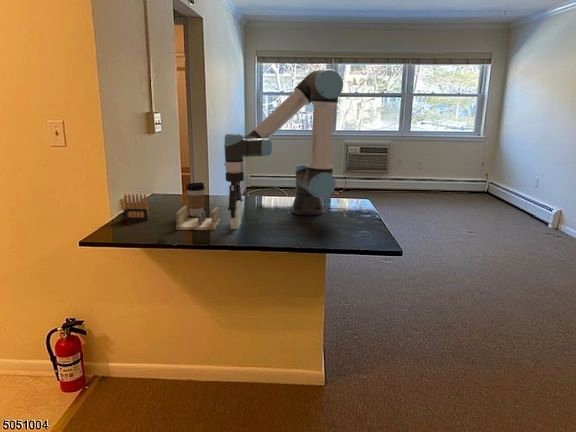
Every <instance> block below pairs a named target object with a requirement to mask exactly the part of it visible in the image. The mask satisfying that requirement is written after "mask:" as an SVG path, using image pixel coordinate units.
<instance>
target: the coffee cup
mask: <svg viewBox="0 0 576 432" xmlns="http://www.w3.org/2000/svg"><path fill="white" fill-rule="evenodd" d="M185 190H186V192H187V193H186V194H187V195H186V196H187V200H188V207H189V208H188V209H189V215H190V216H191V217H198V215H201V212H202V211H204V205H205V203H204V202H205V192H204V191H205V190H206V187H205V183H204V182H190V183H187V184H186V187H185Z"/></svg>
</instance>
